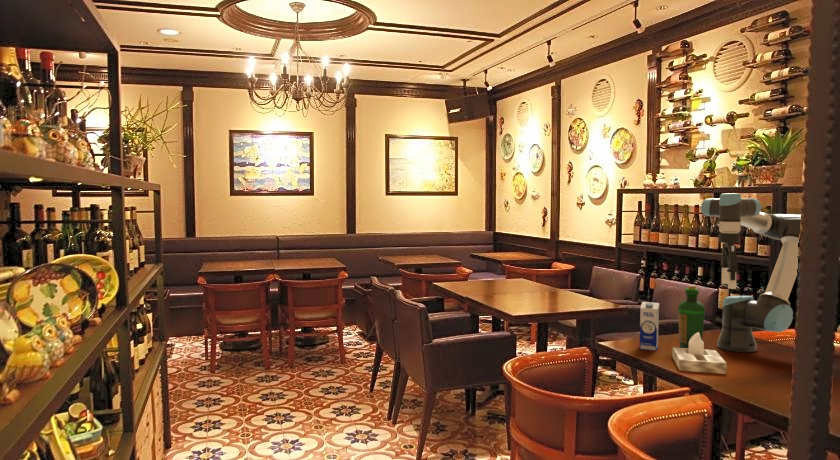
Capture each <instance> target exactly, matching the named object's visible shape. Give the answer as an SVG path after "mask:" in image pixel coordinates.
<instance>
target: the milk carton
mask: <svg viewBox="0 0 840 460" xmlns="http://www.w3.org/2000/svg"><path fill="white" fill-rule="evenodd" d="M639 317H640V320H639V350H643V351H644V350H645V351H653V352H657V350H658V348H659V322H660V319H659V318H660V303H659V302H650V301H649V302H648V301H642V302H641V304H640V315H639Z"/></svg>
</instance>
